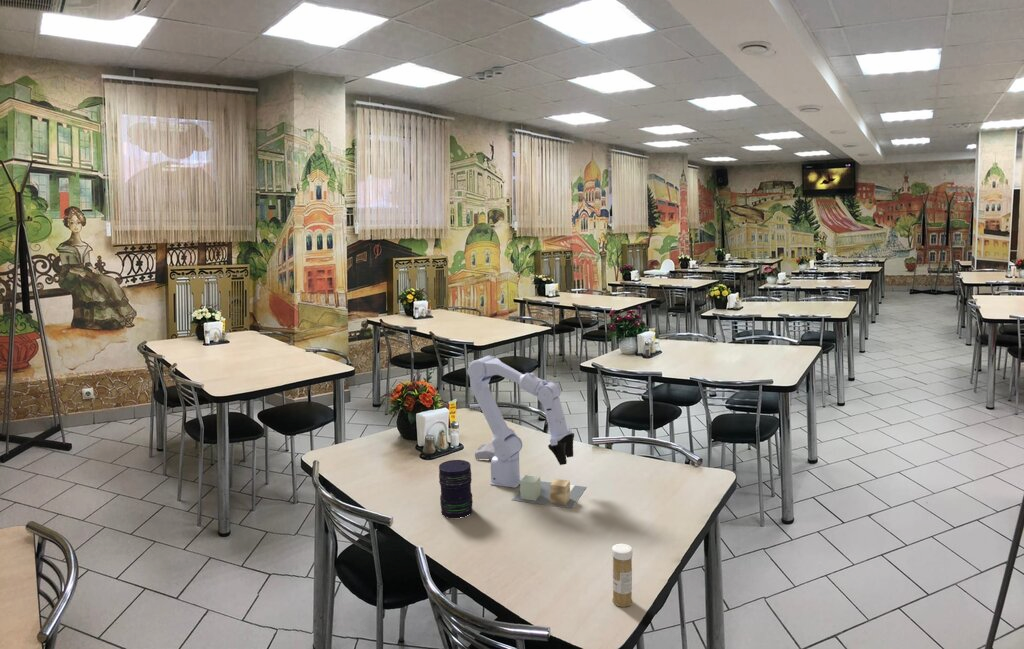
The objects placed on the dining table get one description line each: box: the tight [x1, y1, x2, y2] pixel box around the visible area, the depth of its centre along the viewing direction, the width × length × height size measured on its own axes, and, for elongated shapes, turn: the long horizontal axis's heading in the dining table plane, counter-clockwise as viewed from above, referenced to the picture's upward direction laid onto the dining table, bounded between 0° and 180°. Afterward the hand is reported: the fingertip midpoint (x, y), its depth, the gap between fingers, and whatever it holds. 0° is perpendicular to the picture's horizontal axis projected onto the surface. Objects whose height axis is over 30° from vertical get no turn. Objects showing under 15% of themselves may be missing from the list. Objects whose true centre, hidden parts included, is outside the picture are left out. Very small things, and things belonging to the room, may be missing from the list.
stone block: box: [474, 442, 495, 460], centre depth 245 cm, size 12×5×10 cm
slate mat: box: [511, 480, 587, 509], centre depth 208 cm, size 20×17×1 cm
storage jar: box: [438, 459, 474, 519], centre depth 196 cm, size 10×10×15 cm
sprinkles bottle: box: [611, 543, 633, 608], centre depth 146 cm, size 5×5×14 cm
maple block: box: [550, 478, 571, 505], centre depth 202 cm, size 5×5×6 cm
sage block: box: [519, 475, 541, 501], centre depth 206 cm, size 5×5×6 cm
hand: (566, 460), depth 207 cm, fingers open, 7 cm apart
